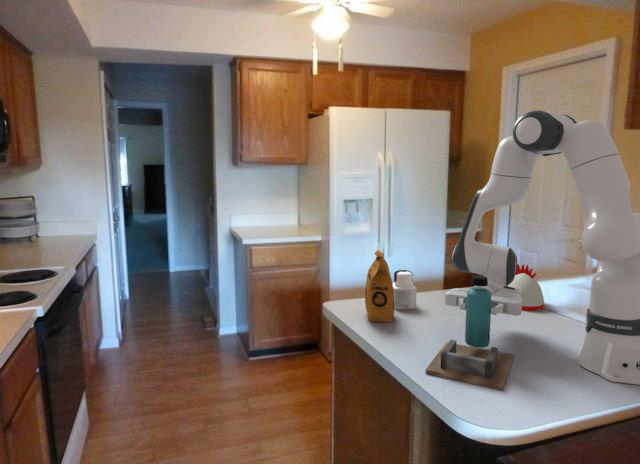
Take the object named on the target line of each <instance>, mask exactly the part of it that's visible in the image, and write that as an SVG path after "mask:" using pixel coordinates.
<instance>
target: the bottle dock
mask: <svg viewBox="0 0 640 464" xmlns="http://www.w3.org/2000/svg"><path fill="white" fill-rule="evenodd" d="M514 356H515V354H512V353H507V352H503V351H499V347H494V346H492V347H491V349H486V348H477V347H472V346H469V345H463V344H460V343H457V339H450V340H449V341H448V342H447V341H445V343H444V344H443V346H442V347H441V348H440V350H439V351H438V352H437V354H436V355H435V356H434V358H433V359H432V360H431V361H430V363H429V364H428V366H427V367H426V368H425V374H427V375H432V376H436V377H441V378H446V379H449V380H454V381H458V382H463V383H467V384H473V385H477V386H482V387H485V388H491V389H495V390H500V391H503V390H504V388H505V385H506V383H507V379H508V376H509V374H510V370H511V367H512V364H513V361H514V358H515V357H514Z"/></svg>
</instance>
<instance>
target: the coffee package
mask: <svg viewBox="0 0 640 464" xmlns="http://www.w3.org/2000/svg"><path fill="white" fill-rule="evenodd" d="M374 255H375V257H376V258H375V259H374V261H373V262H372V263H371V265H370V267H369V268H368V270H367V275H366V281H365V289H364V299H365V300H364V301H365V310H366V315H367V318H368V320H369V321H370V322H372V323H373V322H376V323H380V322H381V323H382V322H383V323H391V322H393V318H394V314H395V308H394V290H393V284H392V283H393V280H392V276H391V272H390V268H389V265H388V262H387V261H386V259H385V258H384V253H383V252H382V251H381V250H380V249H376V250H375V251H374Z"/></svg>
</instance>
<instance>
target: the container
mask: <svg viewBox="0 0 640 464" xmlns="http://www.w3.org/2000/svg"><path fill="white" fill-rule="evenodd" d="M413 276H414V274H413V272H412V271H410V270H407V269H398V270H396V271H394V273H393V282H392V284H393V290H394V310H415V309H416V308H417V287H416V286H414V285H413Z"/></svg>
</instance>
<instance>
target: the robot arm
mask: <svg viewBox="0 0 640 464" xmlns="http://www.w3.org/2000/svg"><path fill="white" fill-rule="evenodd" d="M559 154H563V156H564V157H565V159H566V161H567V164H568V167H569V170H570V174H571V176H572V178H573V182H574V184H575V185H574V186H575V187H576V191H577V194H578V197H579V200H580V204H581V213H582V220H583V223H582V225H583V231H582V234H581V245H582V249H583V250H584V252H585V253H586V254H587V255H588V256H589V257H590V258H591V259H593V260H596V261H599V263H598V266H597V268H596V271H595V273H594V275H593V277H592V279H591V284H590V285H591V286H590V297H589V308H587V310H586V314H585V323H584V324H585V325H584V326H585V331H586V332H585V337H584V341H583V345H582V347H581V350H580V353H579V356H578V357H577V362H578V364H579V365H580V366H581V367H583V368H584V369H586V370H588V371H589V372H592V373H594V374H597V375H599V376H600V377H602V378H604V379H605V380H606V381H609V382H614V383H623V384H630V385H638V386H639V385H640V213H638V212H633V211H632V203H631V196H630V194H631V193H630V191H631V182H630V179H629V176H628V173H627V172H626V168H625V167H624V166H625V165H624V164H623V161H622V158H621V156H620V153H619V151H618V148H617V146H616V144H615V142H614V140H613V138H612V136H611V134H610V133H609V131H608V130H607V129H606V127H605V125H604V124H603V123H602V122H601V121H599V120H597V119H585V120H581V121H576V120H575V119H574V118H573V117H571V116H570V115H567V114H562V113H558V112H556V111H550V110H539V109H538V110H537V109H536V110H532V111H528V112H526V113H523V114H522V115H521V116H519V118H518V119H517V120H516V121H515V123H514V125H513V129H512V135H511V136H507V137H505V138H503V139H502V140H501V141H500V142H499V144H498V146H497V148H496V151H495V154H494V157H493V161H492V164H491V171H490V176H489V180H488V182H486V185H484V186H483V188H481V189H478V190H477V191H476V193H475V194H474V197H473V199H472V201H471V204H470V206H469V209H468V212H467V214H466V217H465V220H464V223H463V227H462V229H461V233H460V235H459V238H458V241H457V243H456V245H455V247H454V249H453V251H452V255H451V256H452V258H451V259H452V260H451V262H452V264H453V265H454V267H455V268H456V269H457V270H458V271H459V272H463V273H469V274H478V275H480V276H485V277H487V280H488V285H487V286H475V285H473V287H482V288H486V289H487V290H489V291H490V292H491V294H492V296H491V315H494V316H497V314H504V315H510V316H521V315H522V311H523V310H522V297H521V295H520V291H519V289H516V288H512V287H509V286H508V285H509V284H510V283H512V282H513V280H514V277H515V276H516V275H515V274H516V270H517V264H518V257H517V255H516V252H514V250H513V249H512V248H511V247H509V246H504V245H497V244H492V243H486V242H481V241H476V239H475V237H476V234H477V232H478V228H479V225H480V223H481V219H482V218H483V215H484V214H485V213H487V212H489V211H492V210H495V209H500V208H505V207H510V206H512V205H516V204H517V203H520V202H521V201H522V200H523V199H525V198H526V197H527V195H528V193H529V190H530V188H531V187H530V186H531V182H532V177H533V171H534V167H535V163H536V161H537V160H538V158H539V157H541V156H542V157H549V156H553V155H559ZM468 290H469V289H467V288H458V287H456V288H452V289H449V290H448V291H446V292H445V295H444V303H445V305H447V306H450V307H457V308H459V310H460V311H461V310H462V311H466V307H467V291H468Z"/></svg>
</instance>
